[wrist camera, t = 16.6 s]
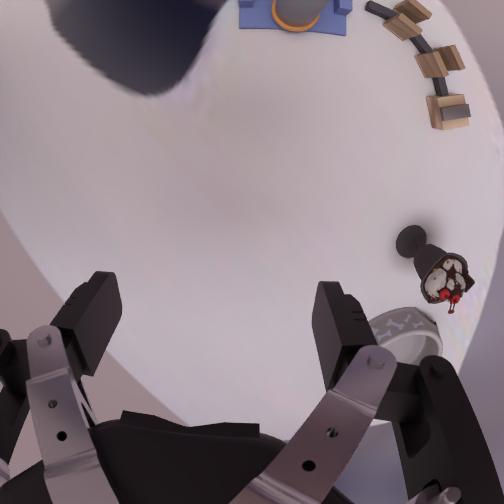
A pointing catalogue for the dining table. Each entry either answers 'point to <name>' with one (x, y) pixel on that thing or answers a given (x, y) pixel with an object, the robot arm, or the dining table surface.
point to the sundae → (435, 267)
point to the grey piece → (297, 13)
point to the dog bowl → (407, 335)
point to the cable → (417, 40)
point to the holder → (260, 17)
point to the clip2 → (440, 61)
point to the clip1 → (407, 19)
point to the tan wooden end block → (448, 111)
